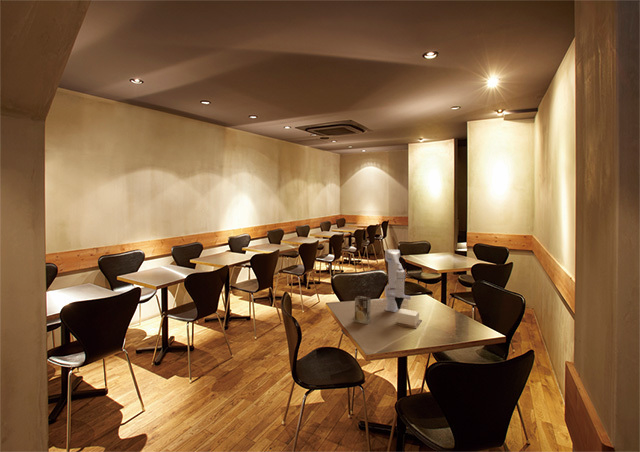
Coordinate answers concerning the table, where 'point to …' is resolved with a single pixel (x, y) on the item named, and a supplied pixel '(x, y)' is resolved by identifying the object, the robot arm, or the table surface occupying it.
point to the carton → (408, 317)
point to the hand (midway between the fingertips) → (399, 308)
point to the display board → (410, 325)
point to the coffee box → (362, 309)
